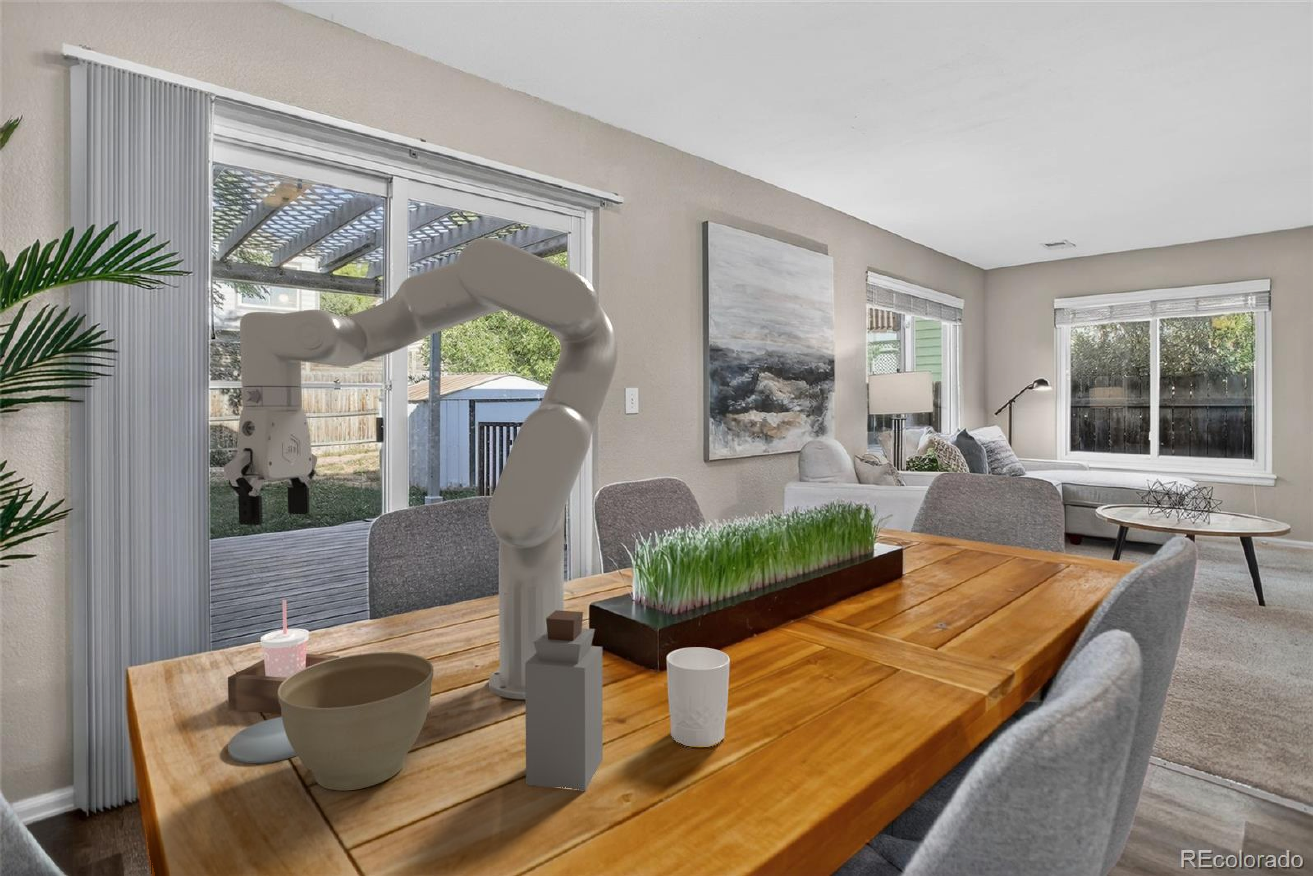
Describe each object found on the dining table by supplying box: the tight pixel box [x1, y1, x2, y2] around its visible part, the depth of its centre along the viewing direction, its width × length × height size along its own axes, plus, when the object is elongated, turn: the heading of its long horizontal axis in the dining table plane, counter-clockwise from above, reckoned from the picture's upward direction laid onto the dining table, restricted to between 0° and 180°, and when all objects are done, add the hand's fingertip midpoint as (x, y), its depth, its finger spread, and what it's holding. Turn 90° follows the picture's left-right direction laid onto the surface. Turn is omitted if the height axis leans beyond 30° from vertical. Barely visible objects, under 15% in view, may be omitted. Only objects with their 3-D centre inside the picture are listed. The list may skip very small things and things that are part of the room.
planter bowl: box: [278, 651, 434, 791], centre depth 80 cm, size 16×16×11 cm
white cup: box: [666, 646, 731, 747], centre depth 88 cm, size 8×8×10 cm
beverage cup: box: [260, 599, 310, 678], centre depth 100 cm, size 6×6×14 cm
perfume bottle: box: [524, 610, 604, 792], centre depth 79 cm, size 7×7×18 cm
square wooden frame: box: [227, 653, 340, 715], centre depth 100 cm, size 10×10×4 cm
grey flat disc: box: [227, 716, 298, 764], centre depth 87 cm, size 11×11×1 cm
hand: (276, 518), depth 101 cm, fingers open, 9 cm apart
